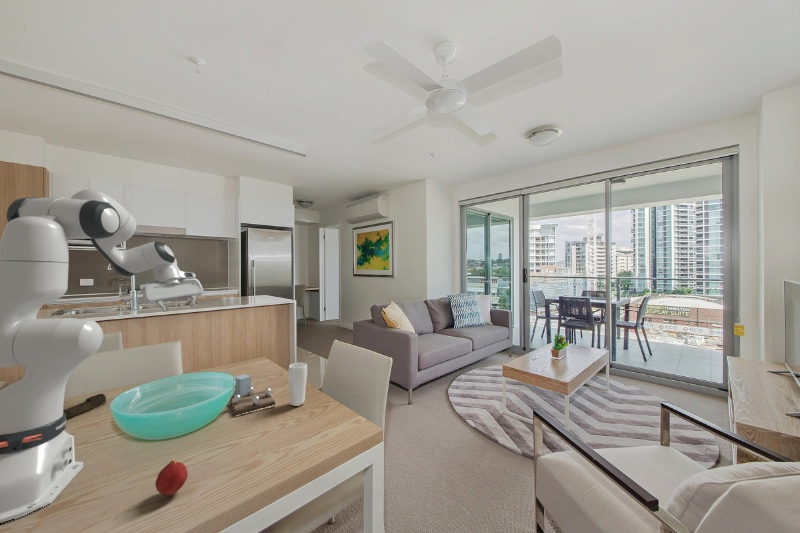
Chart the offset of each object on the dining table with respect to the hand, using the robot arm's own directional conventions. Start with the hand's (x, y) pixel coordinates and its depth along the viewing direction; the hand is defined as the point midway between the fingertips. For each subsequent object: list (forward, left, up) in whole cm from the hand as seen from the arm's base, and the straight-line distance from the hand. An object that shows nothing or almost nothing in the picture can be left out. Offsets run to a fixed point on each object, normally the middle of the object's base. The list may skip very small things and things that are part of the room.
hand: (179, 308), depth 122 cm
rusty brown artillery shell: (0, +29, -36) cm, 46 cm away
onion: (-66, +1, -36) cm, 75 cm away
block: (-16, -21, -35) cm, 44 cm away
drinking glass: (-36, -37, -36) cm, 62 cm away
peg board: (-27, -23, -35) cm, 50 cm away
